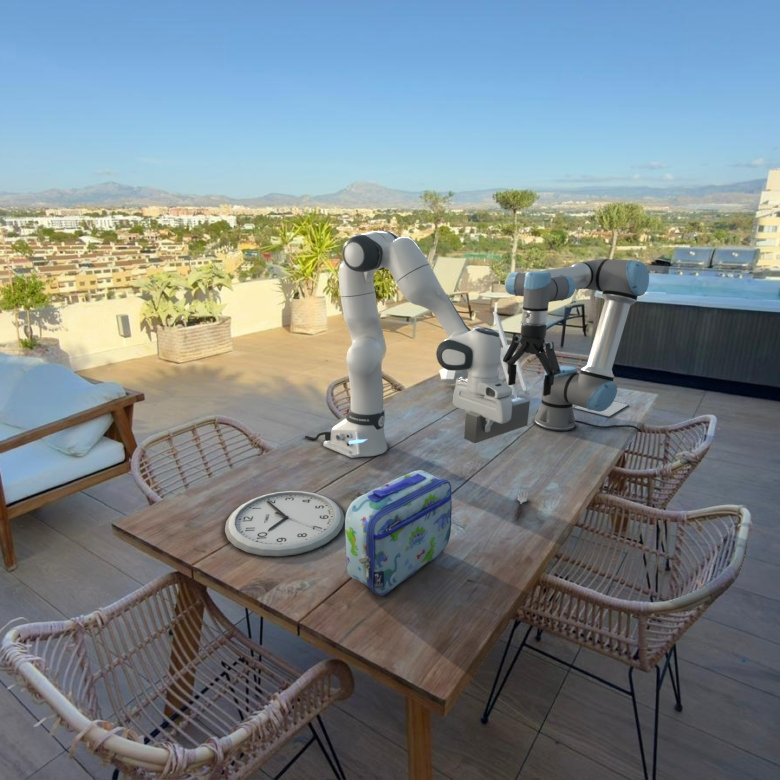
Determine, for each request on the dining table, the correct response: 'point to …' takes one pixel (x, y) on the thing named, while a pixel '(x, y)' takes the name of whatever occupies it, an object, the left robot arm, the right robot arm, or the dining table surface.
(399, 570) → the lunch box
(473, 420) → the bar
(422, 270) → the left robot arm
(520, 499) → the fork
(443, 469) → the dining table surface
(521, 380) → the white plastic object
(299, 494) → the wall clock
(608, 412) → the invitation card
